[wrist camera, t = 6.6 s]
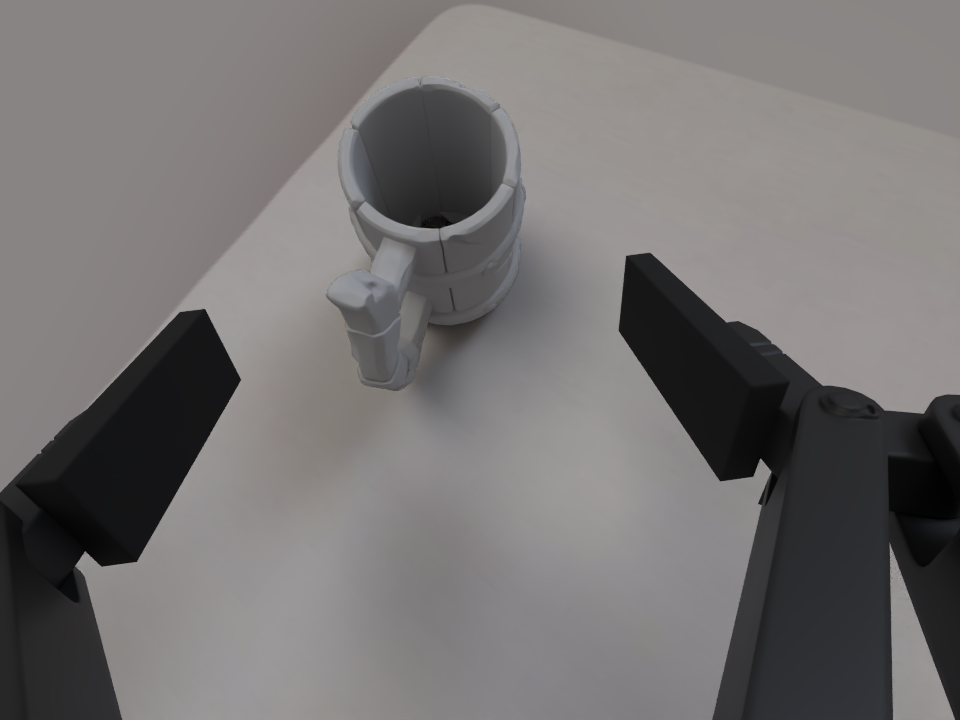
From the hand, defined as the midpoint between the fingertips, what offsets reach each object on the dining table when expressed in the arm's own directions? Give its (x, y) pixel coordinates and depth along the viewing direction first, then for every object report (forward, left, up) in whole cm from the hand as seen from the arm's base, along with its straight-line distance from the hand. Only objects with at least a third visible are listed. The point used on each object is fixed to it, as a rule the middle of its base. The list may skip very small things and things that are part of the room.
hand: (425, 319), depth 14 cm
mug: (-3, +2, -10) cm, 11 cm away
